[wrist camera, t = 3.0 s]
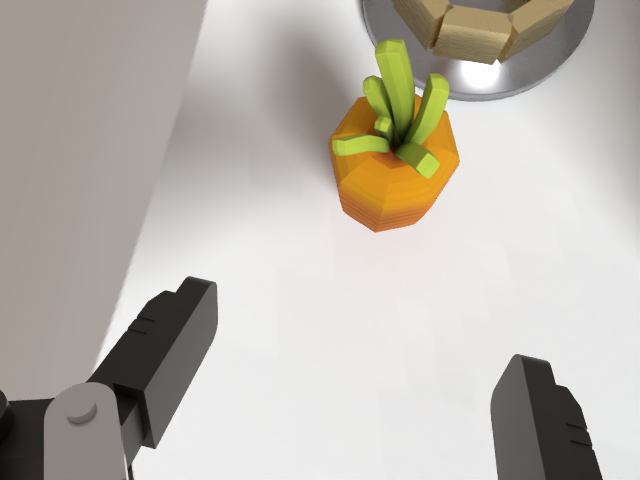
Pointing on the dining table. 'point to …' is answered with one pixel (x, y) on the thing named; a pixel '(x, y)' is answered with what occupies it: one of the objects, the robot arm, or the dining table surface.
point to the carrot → (394, 145)
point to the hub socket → (482, 40)
